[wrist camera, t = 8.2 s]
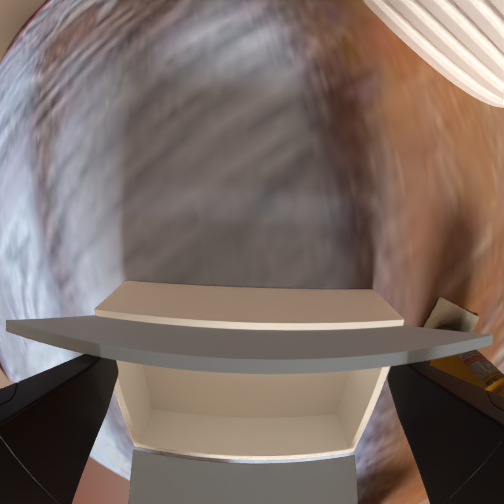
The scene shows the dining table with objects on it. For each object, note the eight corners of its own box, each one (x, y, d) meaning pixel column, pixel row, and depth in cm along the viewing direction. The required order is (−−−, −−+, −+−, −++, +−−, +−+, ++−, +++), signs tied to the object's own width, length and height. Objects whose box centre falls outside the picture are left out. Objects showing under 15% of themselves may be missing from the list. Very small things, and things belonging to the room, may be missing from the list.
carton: (339, 413, 22) (353, 451, 18) (149, 408, 22) (134, 446, 17) (372, 289, 19) (404, 319, 14) (126, 280, 19) (94, 309, 14)
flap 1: (93, 322, 13) (93, 315, 13) (404, 332, 14) (405, 325, 14) (6, 331, 7) (6, 320, 7) (492, 344, 7) (493, 334, 7)
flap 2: (354, 455, 17) (352, 455, 17) (133, 449, 16) (135, 449, 17) (358, 526, 12) (356, 525, 12) (127, 521, 11) (129, 521, 12)
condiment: (389, 375, 22) (448, 470, 10) (439, 295, 20) (533, 368, 8) (434, 384, 22) (489, 458, 11) (477, 316, 20) (553, 375, 9)
